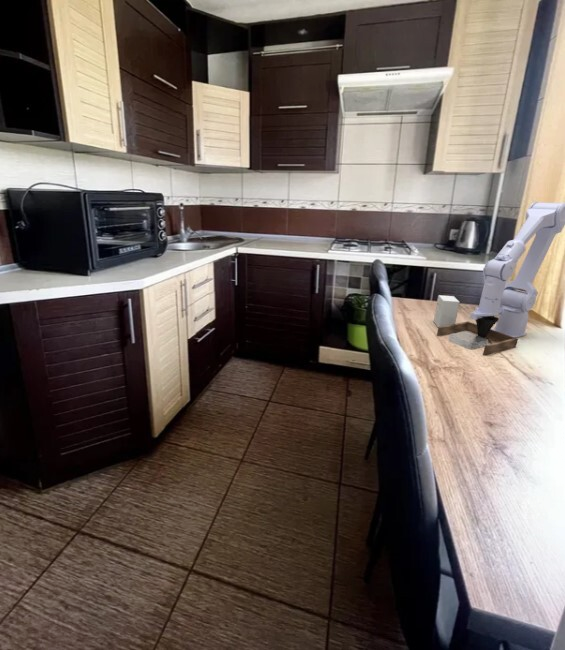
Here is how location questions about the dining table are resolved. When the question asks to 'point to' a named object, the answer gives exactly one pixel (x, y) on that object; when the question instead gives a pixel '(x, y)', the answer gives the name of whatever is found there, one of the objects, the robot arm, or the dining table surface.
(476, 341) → the cover plate
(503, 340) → the brown u-shaped frame
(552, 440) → the dining table surface
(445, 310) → the small box
